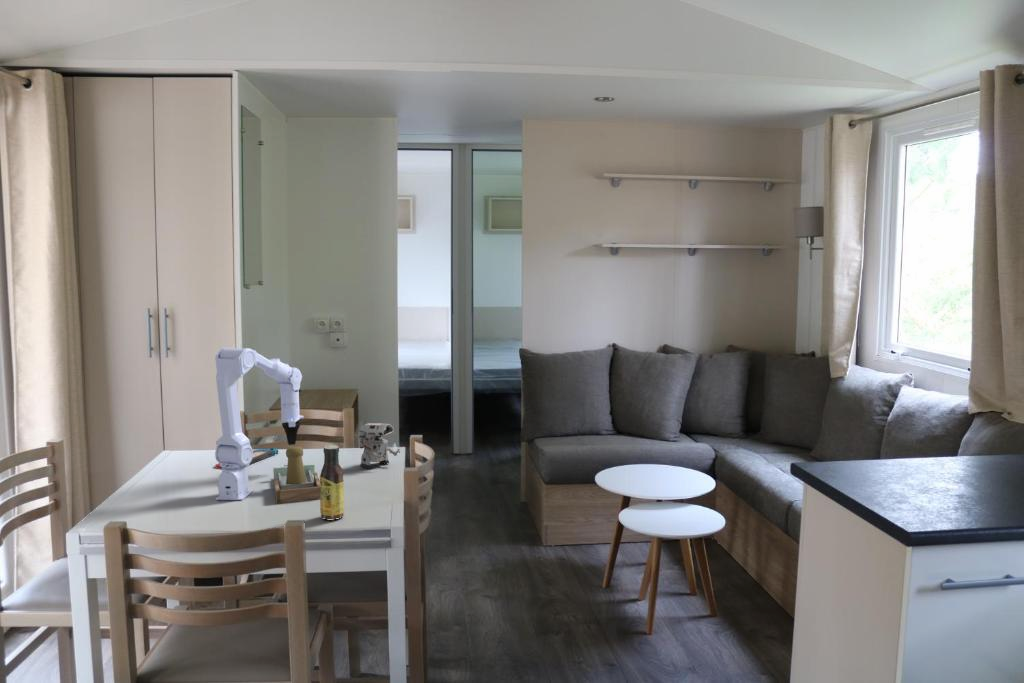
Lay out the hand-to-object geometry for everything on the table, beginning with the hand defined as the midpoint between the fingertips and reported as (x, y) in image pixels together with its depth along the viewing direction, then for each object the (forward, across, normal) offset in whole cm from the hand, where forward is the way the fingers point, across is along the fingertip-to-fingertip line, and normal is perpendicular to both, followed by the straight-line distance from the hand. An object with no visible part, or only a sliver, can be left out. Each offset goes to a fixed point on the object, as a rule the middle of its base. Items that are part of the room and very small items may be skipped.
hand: (291, 444), depth 259 cm
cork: (+7, -21, 0) cm, 23 cm away
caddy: (+9, -25, 0) cm, 26 cm away
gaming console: (+10, +22, +14) cm, 28 cm away
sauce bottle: (+10, -52, -7) cm, 53 cm away
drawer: (+9, -15, 0) cm, 17 cm away
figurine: (+10, -4, -28) cm, 30 cm away
